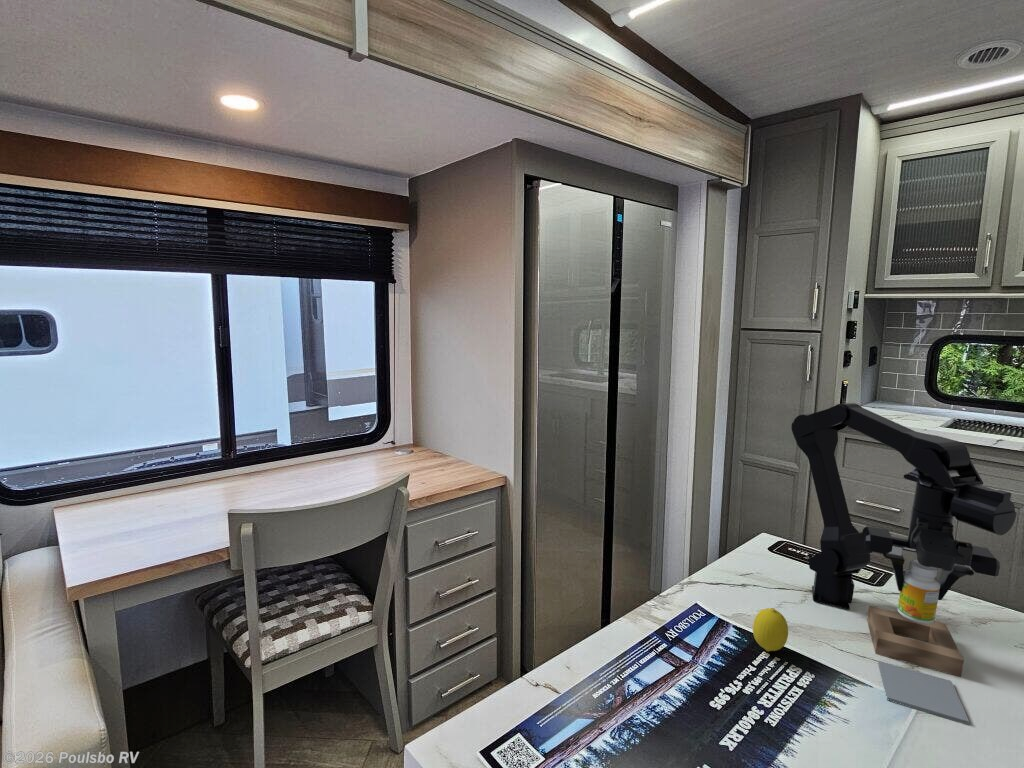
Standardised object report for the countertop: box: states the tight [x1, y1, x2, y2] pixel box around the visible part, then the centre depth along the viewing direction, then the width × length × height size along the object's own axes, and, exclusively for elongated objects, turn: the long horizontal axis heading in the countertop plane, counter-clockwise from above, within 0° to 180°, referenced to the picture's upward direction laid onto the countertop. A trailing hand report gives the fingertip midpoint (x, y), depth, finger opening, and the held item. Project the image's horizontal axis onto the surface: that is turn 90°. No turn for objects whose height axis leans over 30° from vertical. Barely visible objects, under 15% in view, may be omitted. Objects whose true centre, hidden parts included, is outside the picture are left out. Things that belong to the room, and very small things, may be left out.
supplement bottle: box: [897, 559, 940, 624], centre depth 97 cm, size 5×5×10 cm
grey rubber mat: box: [877, 660, 970, 725], centre depth 87 cm, size 10×10×1 cm
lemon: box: [752, 607, 789, 653], centre depth 95 cm, size 6×6×8 cm
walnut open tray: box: [866, 605, 965, 677], centre depth 98 cm, size 12×12×3 cm
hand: (918, 594), depth 97 cm, fingers closed on supplement bottle, 5 cm apart
